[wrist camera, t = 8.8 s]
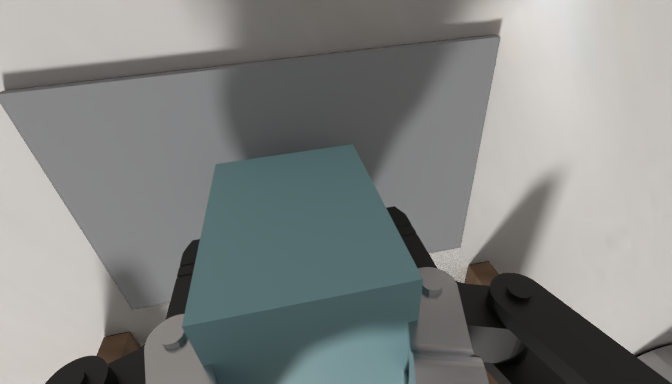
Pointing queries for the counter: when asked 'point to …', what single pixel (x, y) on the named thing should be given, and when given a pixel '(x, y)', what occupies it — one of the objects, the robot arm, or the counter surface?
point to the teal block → (301, 275)
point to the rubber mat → (256, 142)
